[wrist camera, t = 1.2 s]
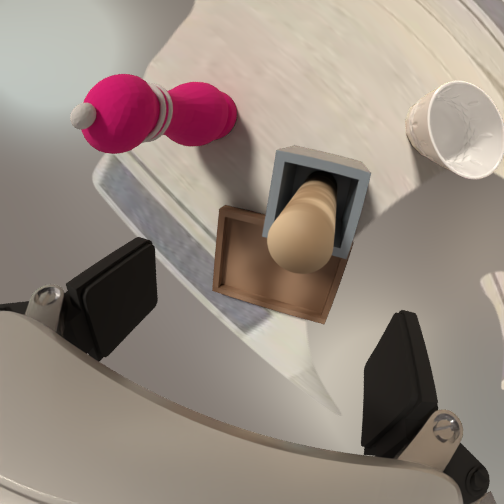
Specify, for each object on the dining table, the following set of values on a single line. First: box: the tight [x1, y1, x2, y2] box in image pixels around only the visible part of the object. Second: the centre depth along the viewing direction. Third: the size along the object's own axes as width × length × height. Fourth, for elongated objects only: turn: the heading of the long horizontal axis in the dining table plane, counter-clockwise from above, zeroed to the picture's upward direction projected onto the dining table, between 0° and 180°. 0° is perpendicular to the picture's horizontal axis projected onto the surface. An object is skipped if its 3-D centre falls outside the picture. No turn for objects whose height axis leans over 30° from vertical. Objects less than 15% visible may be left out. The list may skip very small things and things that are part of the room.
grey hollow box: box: [262, 145, 371, 259], centre depth 25 cm, size 8×8×9 cm
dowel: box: [267, 171, 337, 274], centre depth 21 cm, size 4×4×16 cm
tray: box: [212, 205, 353, 324], centre depth 34 cm, size 16×12×2 cm
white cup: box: [405, 81, 504, 179], centre depth 18 cm, size 8×8×10 cm
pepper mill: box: [70, 74, 237, 154], centre depth 21 cm, size 7×7×20 cm
